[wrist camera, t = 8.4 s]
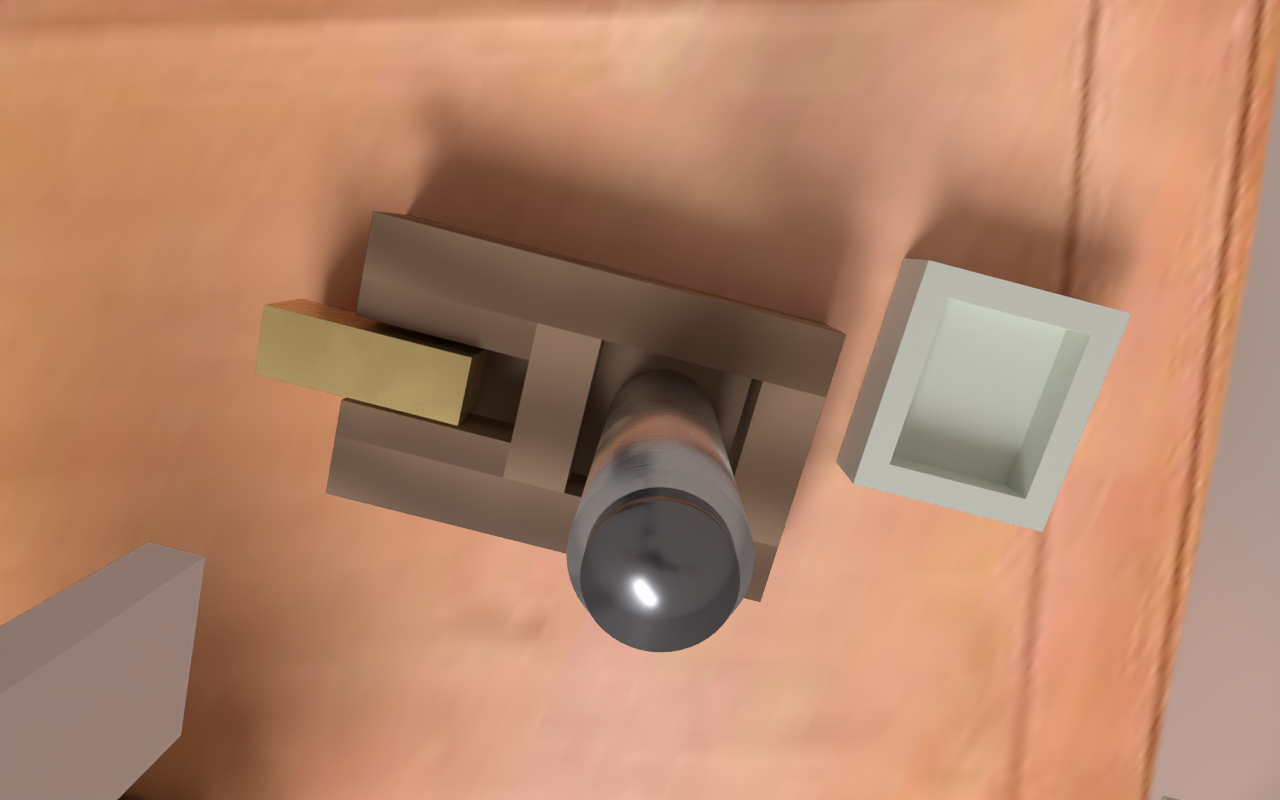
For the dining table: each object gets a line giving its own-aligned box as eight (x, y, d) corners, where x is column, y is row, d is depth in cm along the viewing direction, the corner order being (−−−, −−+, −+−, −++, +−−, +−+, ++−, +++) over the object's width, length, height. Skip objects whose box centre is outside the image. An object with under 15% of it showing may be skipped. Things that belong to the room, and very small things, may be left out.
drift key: (301, 298, 26) (264, 304, 24) (489, 347, 26) (471, 358, 24) (291, 362, 27) (254, 374, 24) (476, 408, 27) (457, 425, 25)
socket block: (405, 214, 27) (373, 211, 24) (825, 324, 27) (845, 334, 24) (360, 467, 29) (325, 493, 26) (750, 565, 29) (760, 602, 26)
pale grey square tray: (904, 258, 26) (928, 259, 24) (1087, 306, 26) (1131, 313, 24) (836, 462, 28) (853, 483, 26) (1009, 506, 28) (1042, 531, 26)
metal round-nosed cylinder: (622, 357, 27) (586, 462, 14) (727, 384, 27) (785, 512, 14) (597, 458, 28) (540, 643, 15) (698, 484, 28) (729, 689, 15)
